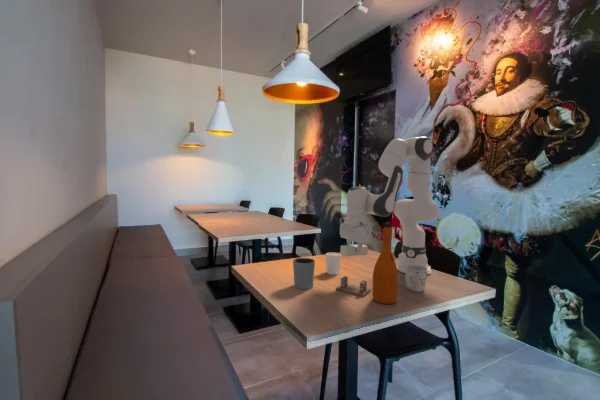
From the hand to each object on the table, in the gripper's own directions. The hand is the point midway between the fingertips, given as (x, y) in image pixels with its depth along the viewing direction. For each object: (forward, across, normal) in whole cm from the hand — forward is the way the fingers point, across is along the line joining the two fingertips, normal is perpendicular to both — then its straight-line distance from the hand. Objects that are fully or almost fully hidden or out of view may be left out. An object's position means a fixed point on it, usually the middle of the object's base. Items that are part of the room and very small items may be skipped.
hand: (354, 250), depth 142 cm
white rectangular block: (+2, 0, 0) cm, 2 cm away
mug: (+16, -18, -21) cm, 32 cm away
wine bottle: (+16, -22, 0) cm, 27 cm away
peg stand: (+16, -8, +5) cm, 19 cm away
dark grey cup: (+16, +6, +23) cm, 29 cm away
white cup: (+16, +18, 0) cm, 24 cm away
